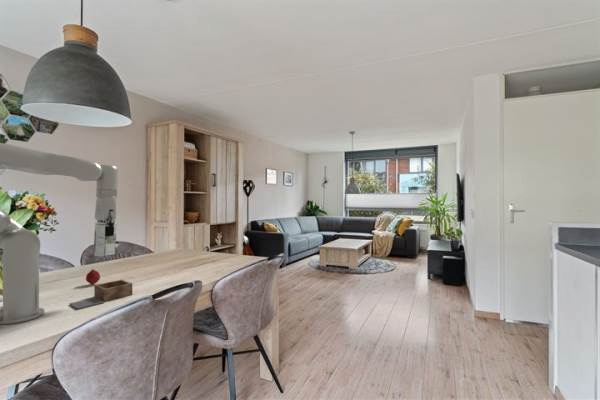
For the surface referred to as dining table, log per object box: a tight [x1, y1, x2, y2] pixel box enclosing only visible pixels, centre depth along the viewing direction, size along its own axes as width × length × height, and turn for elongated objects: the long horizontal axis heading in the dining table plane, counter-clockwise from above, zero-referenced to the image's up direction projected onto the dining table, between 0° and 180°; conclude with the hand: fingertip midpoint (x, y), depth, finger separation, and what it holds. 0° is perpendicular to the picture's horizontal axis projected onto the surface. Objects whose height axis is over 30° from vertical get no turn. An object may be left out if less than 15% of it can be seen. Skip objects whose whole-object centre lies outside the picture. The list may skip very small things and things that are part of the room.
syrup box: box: [93, 221, 118, 257], centre depth 127 cm, size 6×6×14 cm
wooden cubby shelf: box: [93, 279, 133, 303], centre depth 130 cm, size 11×11×5 cm
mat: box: [69, 297, 105, 311], centre depth 120 cm, size 9×9×1 cm
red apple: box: [85, 268, 101, 286], centre depth 147 cm, size 6×6×8 cm
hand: (105, 235), depth 127 cm, fingers closed on syrup box, 7 cm apart
